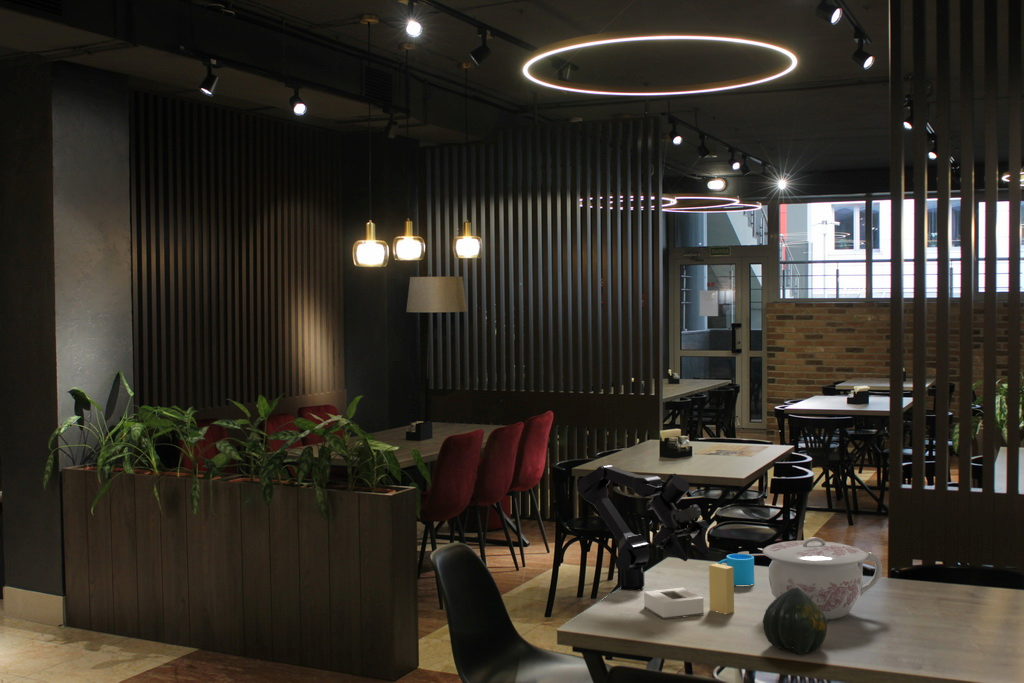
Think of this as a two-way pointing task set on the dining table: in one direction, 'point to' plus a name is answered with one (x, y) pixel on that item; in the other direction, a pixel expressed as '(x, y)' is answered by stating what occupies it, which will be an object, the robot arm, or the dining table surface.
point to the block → (721, 588)
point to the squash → (795, 622)
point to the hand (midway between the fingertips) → (697, 557)
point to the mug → (741, 568)
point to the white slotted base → (673, 603)
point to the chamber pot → (821, 573)
